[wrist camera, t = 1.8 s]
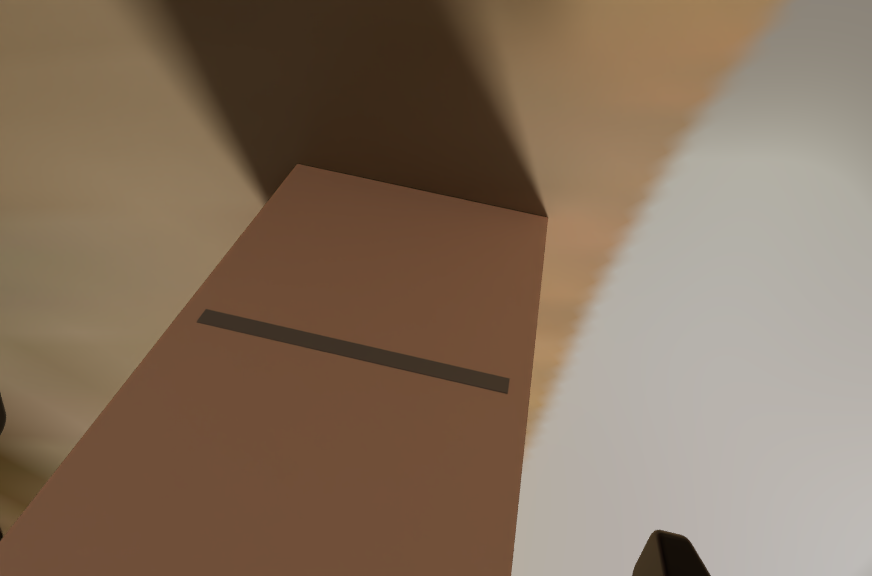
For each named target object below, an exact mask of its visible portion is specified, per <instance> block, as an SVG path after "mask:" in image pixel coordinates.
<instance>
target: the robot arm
mask: <svg viewBox="0 0 872 576" xmlns="http://www.w3.org/2000/svg"><path fill="white" fill-rule="evenodd" d="M5 422H6V412H5V408H4V404H3V401H2V397H1V393H0V435H1V433H2V431H3V429H4V426H5ZM0 541H1V538H0ZM632 576H711V575H710V574H709V572H708V571H707V569H706V567H705V565H704V564H703V562H702V560H701V559H700V557H699V555H698V554H697V552H696V550H695V549H694V547H693V545H692V544H691V542H690V541H689V540H688V539H687V538H686V537H685V536H682V535H680V534H675V533H671V532H667V531H663V530H656V531H654V532H653V533H652V534H651V536H650V537H649V539H648V541H647V543H646V545H645V547H644V549H643V551H642V553H641V555H640V557H639V559H638V561H637V563H636V565H635V567H634V570H633V575H632Z"/></svg>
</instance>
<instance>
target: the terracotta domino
mask: <svg viewBox="0 0 872 576" xmlns="http://www.w3.org/2000/svg"><path fill="white" fill-rule="evenodd" d="M547 222H548V218H547V217H543V216H538V215H533V214H529V213H524V212H519V211H515V210H510V209H505V208H501V207H496V206H491V205H487V204H482V203H477V202H473V201H468V200H464V199H459V198H454V197H450V196H445V195H440V194H436V193H431V192H426V191H422V190H417V189H412V188H408V187H403V186H398V185H394V184H389V183H384V182H380V181H375V180H370V179H366V178H361V177H357V176H352V175H347V174H343V173H338V172H333V171H329V170H324V169H319V168H315V167H310V166H305V165H301V164H297V165H296V166H295V167H294V169H293V170H292V171H291V172H290V174H289V175H288V176H287V177H286V179H285V180H284V181H283V182H282V184H281V185H280V186H279V188H278V189H277V190H276V191H275V193H274V194H273V195H272V196H271V198H270V199H269V200H268V202H267V203H266V204H265V205H264V207H263V208H262V209H261V210H260V212H259V213H258V214H257V216H256V217H255V218H254V219H253V221H252V222H251V223H250V224H249V226H248V227H247V228H246V230H245V231H244V232H243V233H242V235H241V236H240V237H239V238H238V240H237V241H236V242H235V243H234V245H233V246H232V247H231V249H230V250H229V251H228V252H227V254H226V255H225V256H224V257H223V259H222V260H221V261H220V263H219V264H218V265H217V266H216V268H215V269H214V270H213V271H212V273H211V274H210V275H209V277H208V278H207V279H206V280H205V282H204V283H203V284H202V285H201V287H200V288H199V289H198V291H197V292H196V293H195V294H194V296H193V297H192V298H191V299H190V301H189V302H188V303H187V304H186V306H185V307H184V308H183V310H182V311H181V312H180V313H179V315H178V316H177V317H176V318H175V320H174V321H173V322H172V324H171V325H170V326H169V327H168V329H167V330H166V331H165V332H164V334H163V335H162V336H161V338H160V339H159V340H158V341H157V343H156V344H155V345H154V346H153V348H152V349H151V350H150V352H149V353H148V354H147V355H146V357H145V358H144V359H143V360H142V362H141V363H140V364H139V365H138V367H137V368H136V369H135V371H134V372H133V373H132V374H131V376H130V377H129V378H128V379H127V381H126V382H125V383H124V385H123V386H122V387H121V388H120V390H119V391H118V392H117V393H116V395H115V396H114V397H113V399H112V400H111V401H110V402H109V404H108V405H107V406H106V407H105V409H104V410H103V411H102V413H101V414H100V415H99V416H98V418H97V419H96V420H95V421H94V423H93V424H92V425H91V426H90V428H89V429H88V430H87V432H86V433H85V434H84V435H83V437H82V438H81V439H80V440H79V442H78V443H77V444H76V446H75V447H74V448H73V449H72V451H71V452H70V453H69V454H68V456H67V457H66V458H65V460H64V461H63V462H62V463H61V465H60V466H59V467H58V468H57V470H56V471H55V472H54V474H53V475H52V476H51V477H50V479H49V480H48V481H47V482H46V484H45V485H44V486H43V487H42V489H41V490H40V491H39V493H38V494H37V495H36V496H35V498H34V499H33V500H32V501H31V503H30V504H29V505H28V507H27V508H26V509H25V510H24V512H23V513H22V514H21V515H20V517H19V518H18V519H17V521H16V522H15V523H14V524H13V526H12V527H11V528H10V529H9V531H8V532H7V533H6V535H5V536H4V537H3V538H2V540H1V541H0V576H511V570H512V561H513V551H514V542H515V541H514V540H515V532H516V522H517V512H518V502H519V493H520V484H521V474H522V464H523V455H524V445H525V435H526V426H527V416H528V406H529V397H530V387H531V377H532V368H533V358H534V348H535V339H536V329H537V319H538V309H539V300H540V290H541V280H542V271H543V261H544V251H545V242H546V232H547Z"/></svg>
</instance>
